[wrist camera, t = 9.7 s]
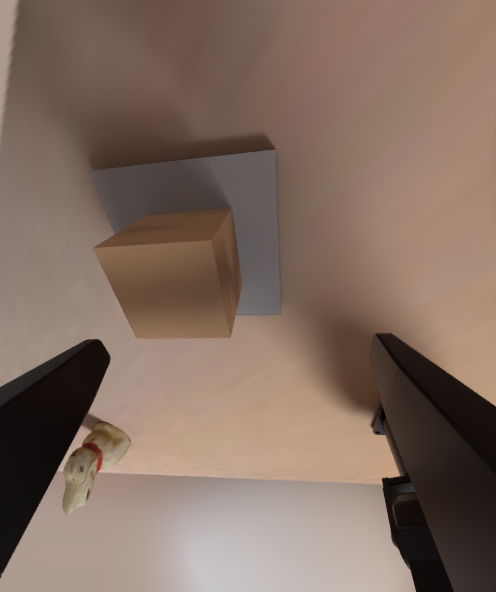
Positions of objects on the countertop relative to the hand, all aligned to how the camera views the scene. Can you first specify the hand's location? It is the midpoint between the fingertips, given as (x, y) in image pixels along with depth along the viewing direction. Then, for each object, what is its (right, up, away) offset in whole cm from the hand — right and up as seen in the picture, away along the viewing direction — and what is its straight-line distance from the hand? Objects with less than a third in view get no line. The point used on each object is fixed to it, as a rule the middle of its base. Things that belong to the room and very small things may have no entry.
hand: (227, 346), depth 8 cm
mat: (-3, +5, +11) cm, 13 cm away
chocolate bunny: (-21, -20, +30) cm, 42 cm away
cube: (-3, +5, +10) cm, 12 cm away
